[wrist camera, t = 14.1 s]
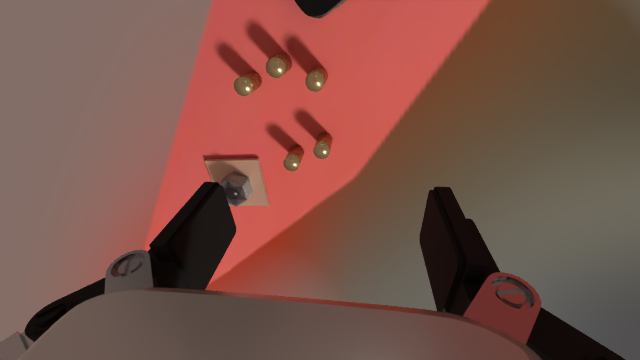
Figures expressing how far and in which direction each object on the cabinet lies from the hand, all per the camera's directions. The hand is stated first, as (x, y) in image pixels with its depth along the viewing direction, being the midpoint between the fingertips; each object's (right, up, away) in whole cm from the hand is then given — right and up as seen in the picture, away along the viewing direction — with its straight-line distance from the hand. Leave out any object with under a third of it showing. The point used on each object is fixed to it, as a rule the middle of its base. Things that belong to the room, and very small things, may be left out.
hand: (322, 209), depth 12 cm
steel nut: (-15, +1, +37) cm, 40 cm away
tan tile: (-15, +1, +37) cm, 41 cm away
